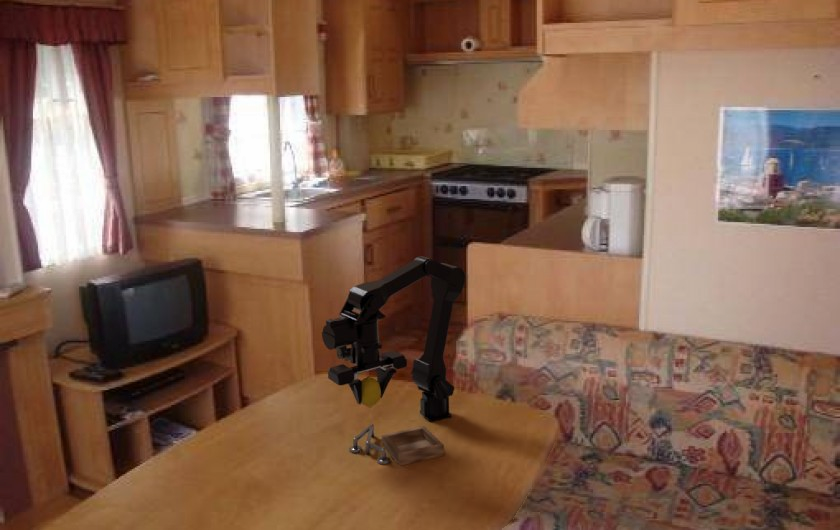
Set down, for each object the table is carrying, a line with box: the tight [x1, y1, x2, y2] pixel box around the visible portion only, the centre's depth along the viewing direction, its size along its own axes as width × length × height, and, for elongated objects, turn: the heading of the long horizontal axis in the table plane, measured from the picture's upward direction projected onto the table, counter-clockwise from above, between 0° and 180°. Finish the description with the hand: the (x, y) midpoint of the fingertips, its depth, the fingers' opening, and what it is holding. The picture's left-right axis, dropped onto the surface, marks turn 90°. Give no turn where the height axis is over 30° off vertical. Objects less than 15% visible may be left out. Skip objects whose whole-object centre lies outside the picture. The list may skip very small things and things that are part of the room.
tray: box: [381, 425, 445, 466], centre depth 183 cm, size 11×11×3 cm
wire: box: [348, 423, 392, 465], centre depth 183 cm, size 8×15×3 cm, turn 24°
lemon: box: [361, 376, 381, 409], centre depth 188 cm, size 6×6×8 cm
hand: (369, 400), depth 188 cm, fingers closed on lemon, 5 cm apart
